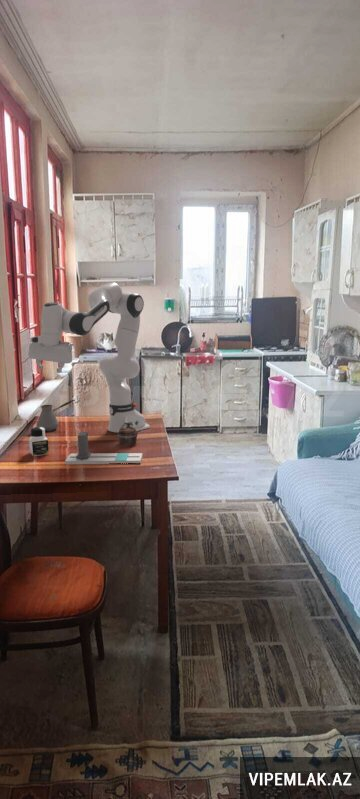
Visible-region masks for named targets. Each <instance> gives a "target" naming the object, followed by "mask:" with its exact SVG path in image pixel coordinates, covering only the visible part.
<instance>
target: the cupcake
mask: <svg viewBox="0 0 360 799" xmlns="http://www.w3.org/2000/svg"><path fill="white" fill-rule="evenodd" d="M138 432H139V431H137V430H136V428H135V427H134V424H133V422H130V423H123V424H122V427H121V428H120V429H119V433H117V437H118V442H119V445H121V446H126V447H127V446H134V445H137V441H138V434H139V433H138Z"/></svg>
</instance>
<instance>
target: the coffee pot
mask: <svg viewBox="0 0 360 799" xmlns="http://www.w3.org/2000/svg"><path fill="white" fill-rule="evenodd" d="M72 402H74V403H77V401H76V400H75V399H74V398H73V399H71V400H69V401H67V402H64V403H63V404H62V405H59V406H57V407H56V408H54V409H53V407H54V404H43V405H40V408H41V412H40V415H39V418H38V420H37V423H36V427H43V428H44V429H45V432H51V431H55V430H56V429H57V428H58V426H59V425H60V422H59V420H58V419H57V416H56V415H55V413H54V412H55V411H57V410H59V409H60V408H63V407H66V406H68V405H69V404H71V403H72Z"/></svg>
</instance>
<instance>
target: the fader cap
mask: <svg viewBox="0 0 360 799" xmlns="http://www.w3.org/2000/svg"><path fill="white" fill-rule="evenodd" d="M88 433H89V431H80V432H79V433H78V435H77V447H78V452H77V454H78V455H77V456H76V459H88V458H89V456H90V455H91V453H92V451H90V450H89V434H88Z"/></svg>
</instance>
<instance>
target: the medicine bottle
mask: <svg viewBox="0 0 360 799" xmlns="http://www.w3.org/2000/svg"><path fill="white" fill-rule="evenodd" d="M28 444H29V453H30V455H31V456H32V457H38V456H39V457H40V456H47V455H50V450H49V449H50V448H49V439H48V438H47V437H46V431H45V429H44V428H43V427H37V426H35V427H33V428H31V429H30V437H28Z"/></svg>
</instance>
